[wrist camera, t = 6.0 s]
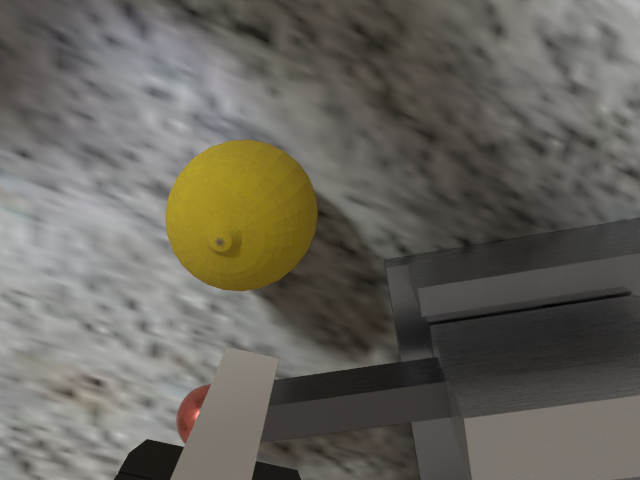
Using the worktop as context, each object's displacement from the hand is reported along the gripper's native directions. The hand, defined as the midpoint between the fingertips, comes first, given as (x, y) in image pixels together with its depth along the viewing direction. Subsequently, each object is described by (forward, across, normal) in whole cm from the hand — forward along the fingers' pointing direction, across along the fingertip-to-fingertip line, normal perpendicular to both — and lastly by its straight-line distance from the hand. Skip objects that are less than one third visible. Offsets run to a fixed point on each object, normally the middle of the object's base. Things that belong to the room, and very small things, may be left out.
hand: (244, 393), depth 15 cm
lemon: (+10, -2, +3) cm, 11 cm away
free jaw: (+8, +7, -2) cm, 11 cm away
